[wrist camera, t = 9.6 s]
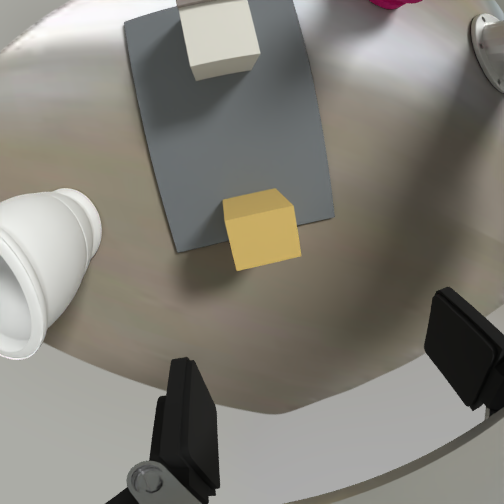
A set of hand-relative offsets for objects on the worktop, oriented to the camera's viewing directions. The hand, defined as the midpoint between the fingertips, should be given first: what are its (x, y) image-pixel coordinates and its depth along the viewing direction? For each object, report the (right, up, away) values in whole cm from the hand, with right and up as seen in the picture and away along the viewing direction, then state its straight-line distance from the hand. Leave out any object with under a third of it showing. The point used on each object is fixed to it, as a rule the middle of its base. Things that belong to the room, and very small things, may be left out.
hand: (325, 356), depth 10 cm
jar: (-22, +6, +17) cm, 28 cm away
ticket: (-6, +23, +12) cm, 26 cm away
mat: (-5, +16, +15) cm, 22 cm away
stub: (-3, +7, +18) cm, 20 cm away
